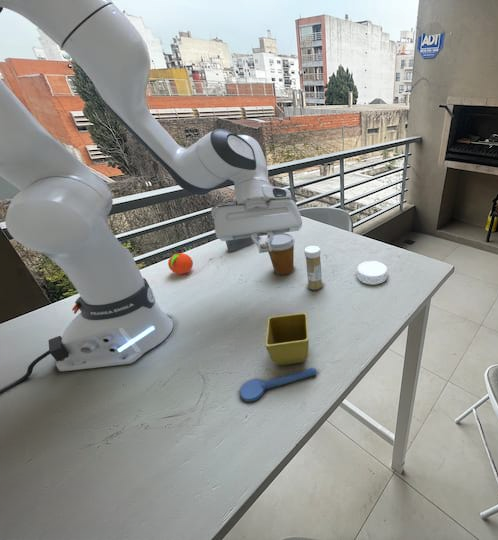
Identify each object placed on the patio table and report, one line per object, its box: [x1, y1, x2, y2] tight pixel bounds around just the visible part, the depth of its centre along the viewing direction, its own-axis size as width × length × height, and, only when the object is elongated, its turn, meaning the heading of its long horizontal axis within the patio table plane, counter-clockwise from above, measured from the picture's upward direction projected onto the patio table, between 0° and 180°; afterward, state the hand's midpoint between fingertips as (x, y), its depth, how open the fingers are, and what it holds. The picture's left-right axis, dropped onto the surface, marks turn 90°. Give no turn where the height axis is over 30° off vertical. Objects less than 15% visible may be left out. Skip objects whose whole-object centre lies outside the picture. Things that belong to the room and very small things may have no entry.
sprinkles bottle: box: [304, 245, 323, 291], centre depth 86 cm, size 5×5×14 cm
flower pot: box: [264, 312, 310, 366], centre depth 64 cm, size 9×9×9 cm
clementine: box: [167, 252, 194, 275], centre depth 93 cm, size 8×7×7 cm
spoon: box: [239, 367, 317, 403], centre depth 60 cm, size 16×5×2 cm, turn 111°
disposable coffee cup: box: [264, 232, 295, 276], centre depth 94 cm, size 10×10×12 cm
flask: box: [225, 199, 260, 253], centre depth 108 cm, size 4×14×18 cm, turn 148°
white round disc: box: [356, 260, 388, 286], centre depth 94 cm, size 10×10×4 cm
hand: (265, 251), depth 69 cm, fingers closed
